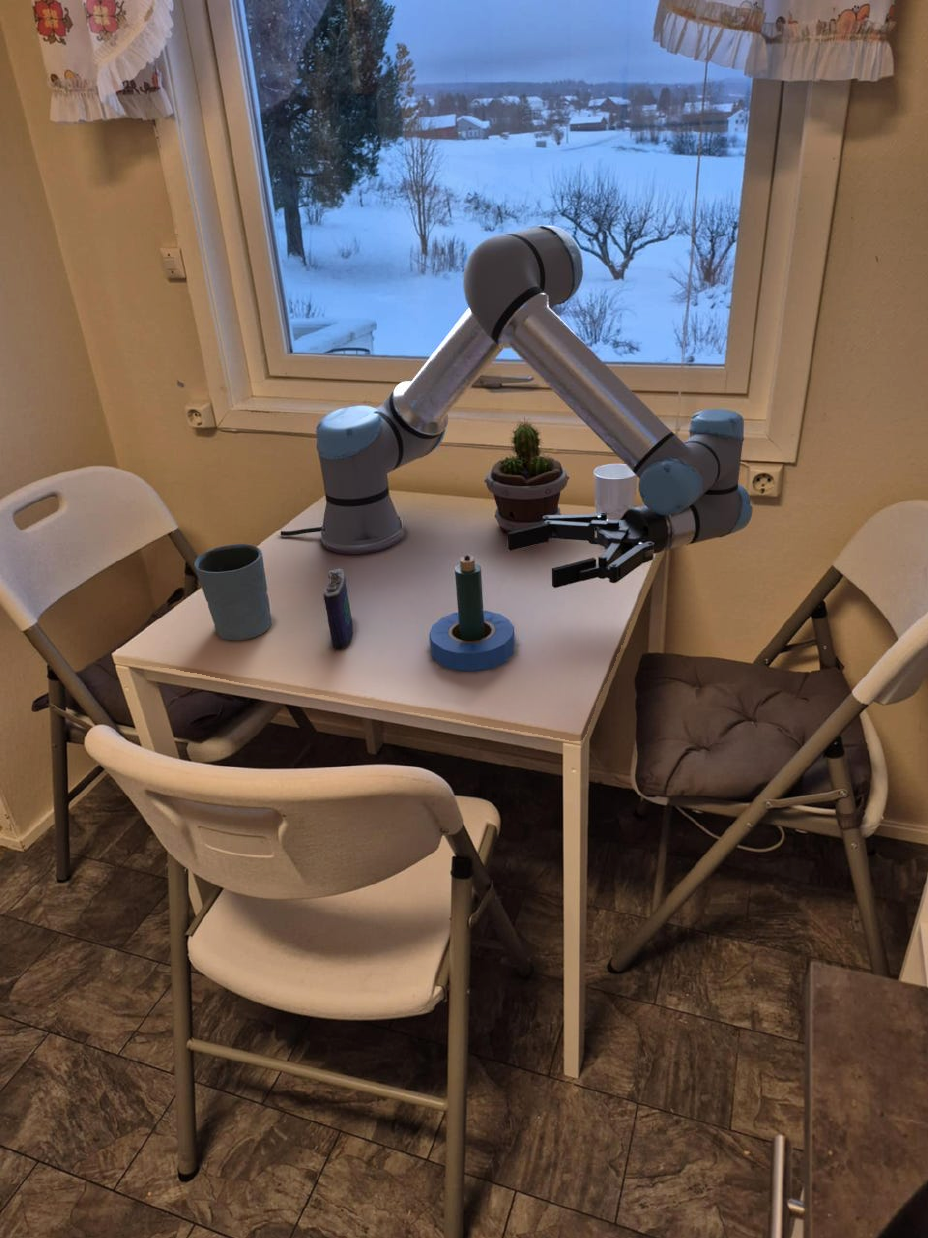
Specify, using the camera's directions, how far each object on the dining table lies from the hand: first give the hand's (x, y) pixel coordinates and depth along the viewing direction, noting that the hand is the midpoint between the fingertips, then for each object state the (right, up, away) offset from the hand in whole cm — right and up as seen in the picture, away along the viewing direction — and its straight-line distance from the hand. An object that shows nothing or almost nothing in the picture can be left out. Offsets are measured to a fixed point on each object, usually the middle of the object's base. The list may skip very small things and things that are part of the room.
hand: (529, 559), depth 121 cm
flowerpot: (+3, +9, +40) cm, 41 cm away
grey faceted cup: (+19, +10, +39) cm, 44 cm away
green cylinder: (-8, -13, +3) cm, 15 cm away
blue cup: (-44, -10, +13) cm, 47 cm away
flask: (-28, -11, +9) cm, 31 cm away
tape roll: (-8, -13, +3) cm, 15 cm away
